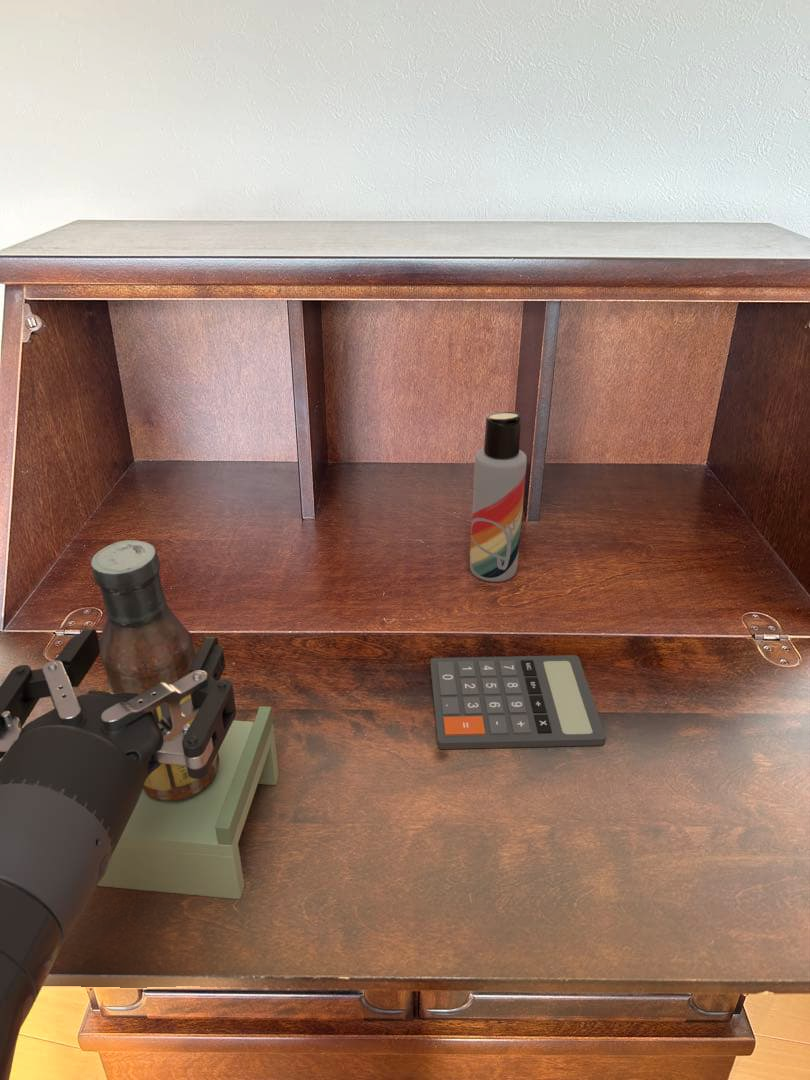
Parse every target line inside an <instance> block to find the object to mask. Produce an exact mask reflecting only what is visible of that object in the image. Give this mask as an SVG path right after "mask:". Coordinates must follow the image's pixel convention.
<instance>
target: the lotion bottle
mask: <svg viewBox="0 0 810 1080" xmlns="http://www.w3.org/2000/svg"><path fill="white" fill-rule="evenodd" d="M522 419H523V418H522V415H521V414H520V413H519V412H516V411H501V412H495V413H490V414H487V415H486V416H485V429H484V441H483V442H484V443H483V447H482V448H480V449H479V450H477V452H476V453H475V457H474V458H475V459H474V470H473V471H474V473H473V490H472V492H473V493H472V511H471V529H470V545H469V546H470V547H469V548H470V549H469V570H470V572H471V574H472V575H473V576H474V577H475V578H477V579H479V580H481V581H484V582H488V583H502V582H506V581H509V580H511V579H512V578H514V576H515V575H516V574H517V569H518V564H519V563H518V562H519V553H520V542H521V531H522V519H523V509H524V508H523V507H524V499H525V487H526V478H527V477H526V476H527V465H528V464H527V463H528V459H527V458H528V457H527V455H526V453H525V452H524V451H523V450H521V449H520V447H521V434H522V433H521V432H522V422H523V421H522Z"/></svg>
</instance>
